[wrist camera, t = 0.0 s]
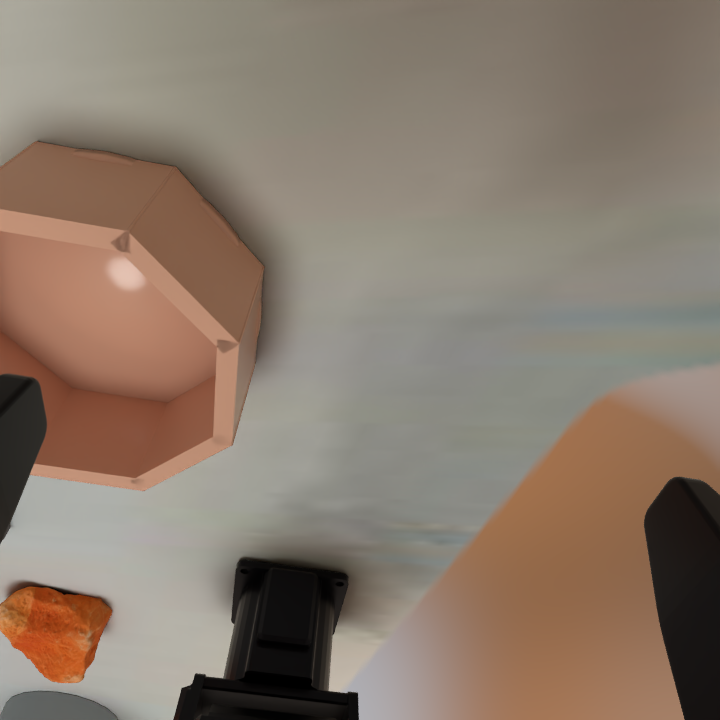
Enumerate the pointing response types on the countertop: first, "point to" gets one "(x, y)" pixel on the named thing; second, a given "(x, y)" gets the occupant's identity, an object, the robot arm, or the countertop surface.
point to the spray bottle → (53, 707)
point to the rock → (55, 630)
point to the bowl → (124, 313)
